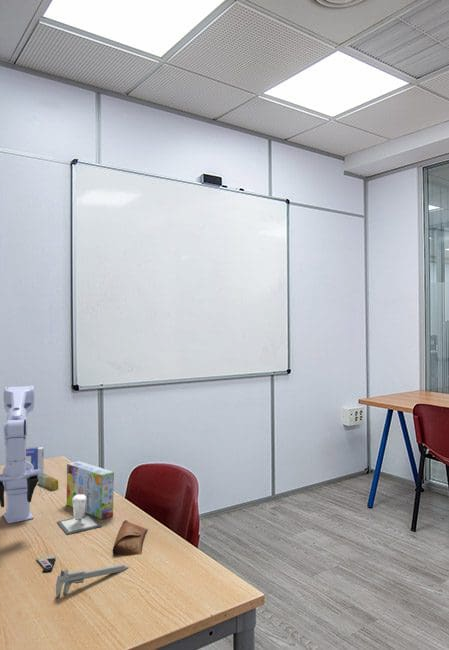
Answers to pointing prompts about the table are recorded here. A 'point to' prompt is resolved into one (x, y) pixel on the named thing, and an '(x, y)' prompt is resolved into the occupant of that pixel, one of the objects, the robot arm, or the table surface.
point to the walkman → (36, 457)
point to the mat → (71, 528)
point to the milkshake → (79, 509)
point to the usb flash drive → (47, 563)
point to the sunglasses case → (129, 539)
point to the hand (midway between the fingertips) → (15, 503)
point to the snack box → (91, 488)
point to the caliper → (83, 576)
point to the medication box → (48, 482)
